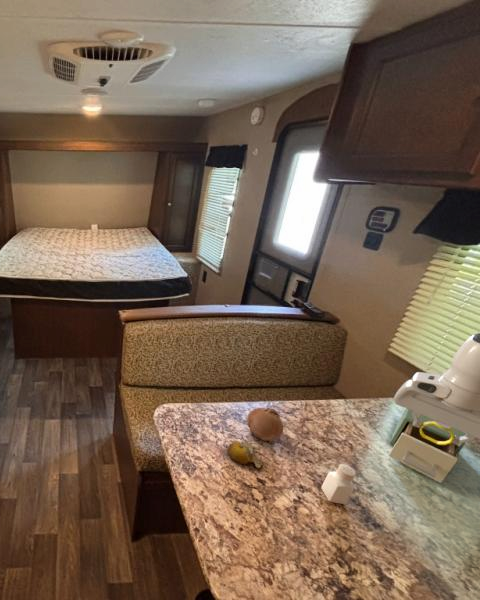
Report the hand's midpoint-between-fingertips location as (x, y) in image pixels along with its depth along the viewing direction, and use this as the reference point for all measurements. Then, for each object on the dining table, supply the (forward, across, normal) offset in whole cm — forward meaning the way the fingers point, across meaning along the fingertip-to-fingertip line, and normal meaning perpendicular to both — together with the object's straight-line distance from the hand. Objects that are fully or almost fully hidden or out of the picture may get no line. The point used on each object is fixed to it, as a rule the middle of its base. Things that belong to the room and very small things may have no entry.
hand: (434, 434), depth 84 cm
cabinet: (+11, 0, -11) cm, 16 cm away
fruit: (+11, +30, +37) cm, 49 cm away
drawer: (+10, 0, 0) cm, 10 cm away
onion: (+11, +32, +25) cm, 42 cm away
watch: (+2, 0, 0) cm, 2 cm away
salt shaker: (+11, +12, +31) cm, 35 cm away
